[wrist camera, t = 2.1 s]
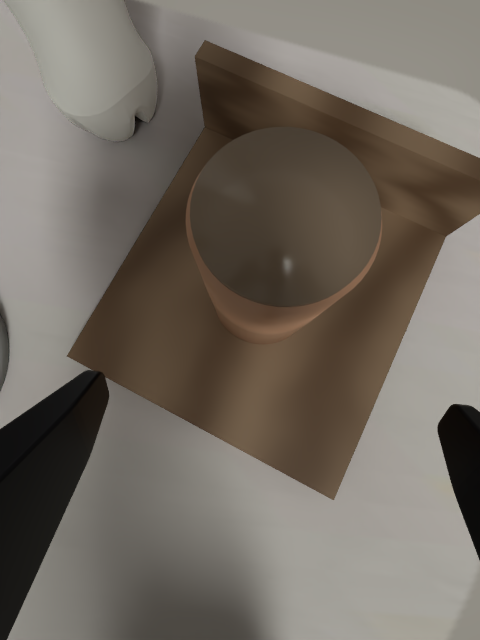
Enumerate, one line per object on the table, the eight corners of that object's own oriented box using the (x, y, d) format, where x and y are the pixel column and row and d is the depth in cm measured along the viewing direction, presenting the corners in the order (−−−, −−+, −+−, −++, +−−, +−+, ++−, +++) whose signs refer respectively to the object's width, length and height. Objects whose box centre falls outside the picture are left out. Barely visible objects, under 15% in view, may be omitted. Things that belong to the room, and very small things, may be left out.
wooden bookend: (442, 228, 22) (517, 174, 16) (328, 493, 19) (368, 547, 13) (213, 124, 23) (205, 40, 17) (75, 357, 20) (8, 349, 15)
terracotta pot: (329, 273, 20) (418, 170, 10) (286, 362, 19) (337, 348, 9) (240, 231, 21) (241, 92, 11) (194, 315, 20) (145, 253, 10)
